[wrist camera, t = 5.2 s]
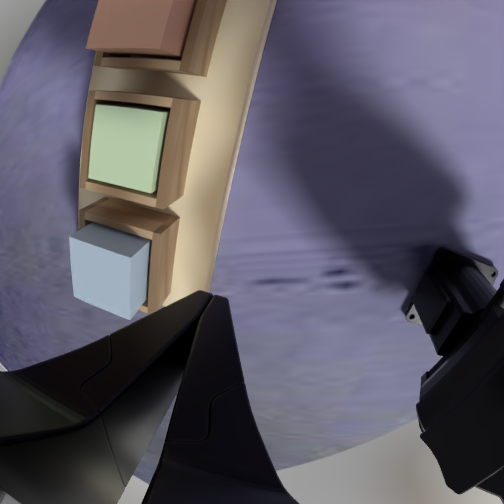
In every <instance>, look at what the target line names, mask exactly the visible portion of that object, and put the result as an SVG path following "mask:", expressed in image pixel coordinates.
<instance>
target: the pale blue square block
mask: <svg viewBox="0 0 504 504" xmlns="http://www.w3.org/2000/svg"><path fill="white" fill-rule="evenodd" d="M69 239H70V257H71V270H72V281H73V291H74V297H76V298H78V299H80V300H83V301H85V302H87V303H90V304H92V305H94V306H97V307H99V308H101V309H104V310H106V311H108V312H111V313H113V314H116V315H118V316H121V317H123V318H126V319H128V320H131V318H132V317H133V316H134V314H135V313H136V312H137V311H138V309H139V308H140V307H141V305H142V304H143V303H144V302H145V300H146V299H147V298H148V290H149V274H150V260H151V247H152V240H151V239H147V238H144V237H141V236H138V235H134V234H131V233H128V232H125V231H121V230H118V229H115V228H112V227H108V226H105V225H102V224H99V223H95V222H92V223H90V224H89V225H87V226H85V227H84V228H82V229H81V230H79V231H77V232H76V233H74V234H73V235H71V236H70V237H69Z"/></svg>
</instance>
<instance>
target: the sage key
mask: <svg viewBox="0 0 504 504" xmlns="http://www.w3.org/2000/svg"><path fill="white" fill-rule="evenodd" d="M169 116H170V109H163V108H156V107H149V106H141V105H133V104H98V105H96V107H95V114H94V122H93V130H92V139H91V149H90V161H89V175H88V178H90V179H94V180H98V181H102V182H107V183H111V184H115V185H119V186H123V187H127V188H131V189H135V190H139V191H143V192H147V193H153V192H154V191H156V190H158V184H159V176H160V169H161V163H162V156H163V150H164V144H165V138H166V132H167V126H168V121H169Z"/></svg>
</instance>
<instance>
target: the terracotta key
mask: <svg viewBox="0 0 504 504" xmlns="http://www.w3.org/2000/svg"><path fill="white" fill-rule="evenodd" d="M197 1H198V0H99V1H98V4H97V8H96V11H95V14H94V18H93V22H92V25H91V29H90V33H89V37H88V41H87V45H86V49H90V50H96V51H102V52H107V53H112V54H122V55H152V56H168V57H180V58H182V56H183V51H184V48H185V44H186V40H187V36H188V32H189V29H190V25H191V21H192V18H193V14H194V11H195V7H196V4H197Z"/></svg>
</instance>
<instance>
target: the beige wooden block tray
mask: <svg viewBox="0 0 504 504" xmlns="http://www.w3.org/2000/svg"><path fill="white" fill-rule="evenodd" d="M276 2H277V0H198V1H197V4H196V7H195V11H194V14H193V18H192V21H191V25H190V29H189V32H188V36H187V40H186V44H185V48H184V51H183V56H182V58H180V57H168V56H152V55H122V54H112V53H107V52H102V51H96V54H95V59H94V64H93V69H92V74H91V79H90V85H89V91H88V97H87V104H86V111H85V118H84V127H83V136H82V146H81V159H80V175H79V211H78V220H79V230H81V229H82V228H84V227H85V226H87V225H89V224H90V223H92V222H95V223H99V224H102V225H105V226H108V227H112V228H115V229H118V230H121V231H125V232H128V233H131V234H134V235H138V236H141V237H144V238H147V239H151V240H152V247H151V260H150V274H149V290H148V298H147V299H146V300H145V302H144V303H143V304H142V305H141V307H140V308H139V309H138V310H140V311H143V312H145V313H148V314H152V313H154V312H156V311H158V309H159V308H160V307H161V305H162V306H165V307H166V306H168V305H170V304H172V303H174V302H176V301H178V300H180V299H182V298H184V297H186V296H188V295H190V294H192V293H194V292H196V291H198V290H202V291H206V292H209V291H210V286H211V281H212V276H213V271H214V266H215V260H216V255H217V250H218V245H219V241H220V236H221V231H222V226H223V221H224V216H225V212H226V207H227V202H228V198H229V193H230V188H231V184H232V179H233V175H234V170H235V166H236V161H237V157H238V153H239V148H240V144H241V140H242V135H243V131H244V127H245V123H246V118H247V114H248V110H249V106H250V102H251V98H252V94H253V90H254V85H255V81H256V78H257V74H258V70H259V66H260V62H261V58H262V54H263V50H264V46H265V43H266V39H267V35H268V31H269V28H270V24H271V20H272V17H273V13H274V9H275V6H276ZM98 104H133V105H141V106H149V107H156V108H163V109H170V116H169V121H168V126H167V132H166V138H165V144H164V150H163V156H162V163H161V169H160V176H159V184H158V190H156V191H154V192H153V193H147V192H143V191H139V190H135V189H131V188H127V187H123V186H119V185H115V184H111V183H107V182H102V181H98V180H94V179H90V178H88V175H89V161H90V149H91V139H92V130H93V122H94V114H95V107H96V105H98Z"/></svg>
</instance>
